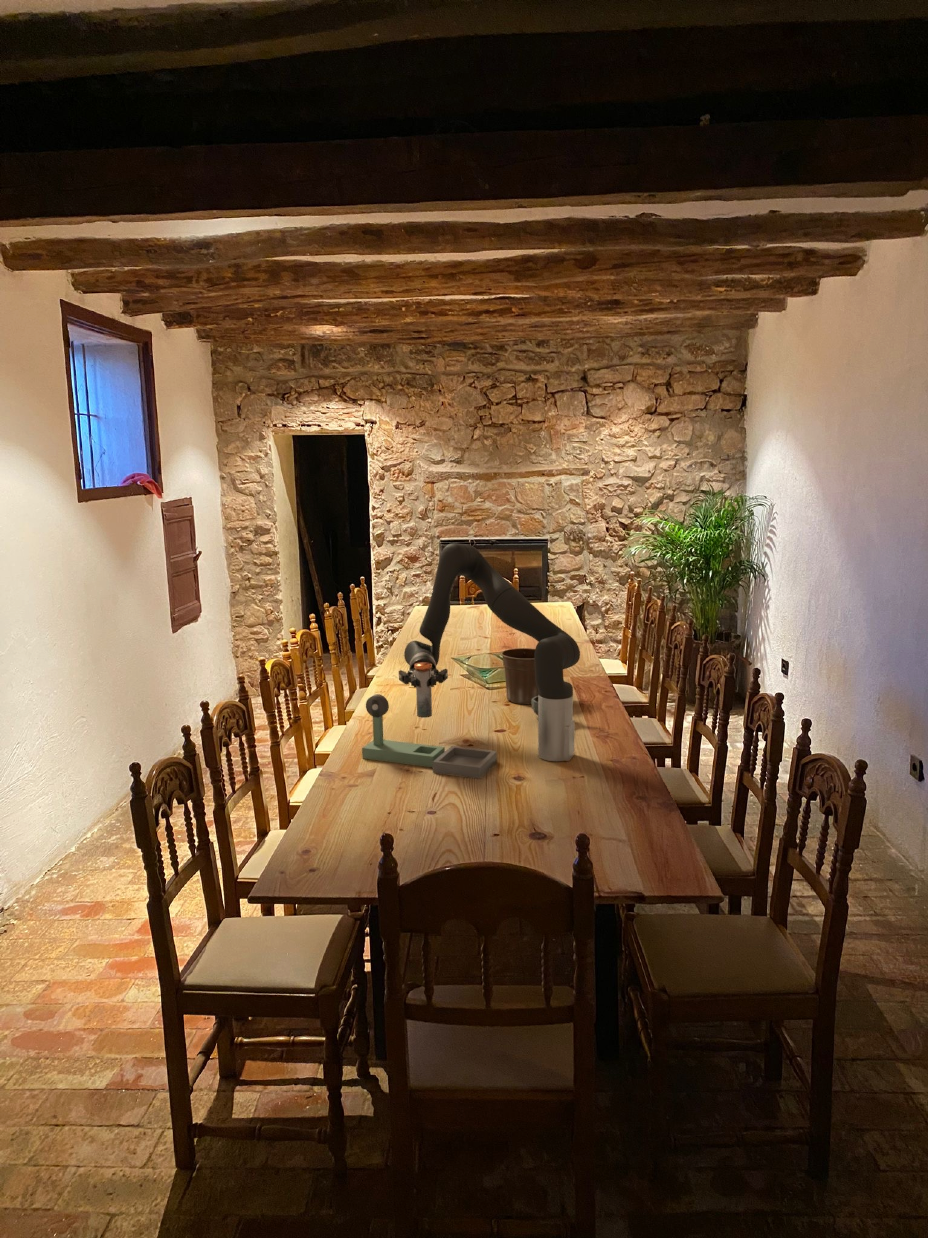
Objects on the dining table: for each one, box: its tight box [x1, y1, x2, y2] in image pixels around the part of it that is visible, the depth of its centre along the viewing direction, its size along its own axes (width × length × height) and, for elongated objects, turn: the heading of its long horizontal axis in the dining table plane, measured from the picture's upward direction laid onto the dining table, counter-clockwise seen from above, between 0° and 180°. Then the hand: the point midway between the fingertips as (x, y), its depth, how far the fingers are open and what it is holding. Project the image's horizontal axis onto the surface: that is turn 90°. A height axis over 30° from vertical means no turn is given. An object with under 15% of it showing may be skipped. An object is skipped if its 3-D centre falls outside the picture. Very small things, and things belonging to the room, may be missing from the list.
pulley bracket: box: [361, 693, 446, 768], centre depth 230 cm, size 21×8×17 cm, turn 69°
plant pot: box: [500, 647, 539, 705], centre depth 284 cm, size 16×16×16 cm
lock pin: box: [414, 662, 433, 719], centre depth 225 cm, size 5×5×14 cm
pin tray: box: [432, 745, 498, 780], centre depth 223 cm, size 13×13×3 cm
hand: (423, 683), depth 222 cm, fingers closed on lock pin, 4 cm apart
